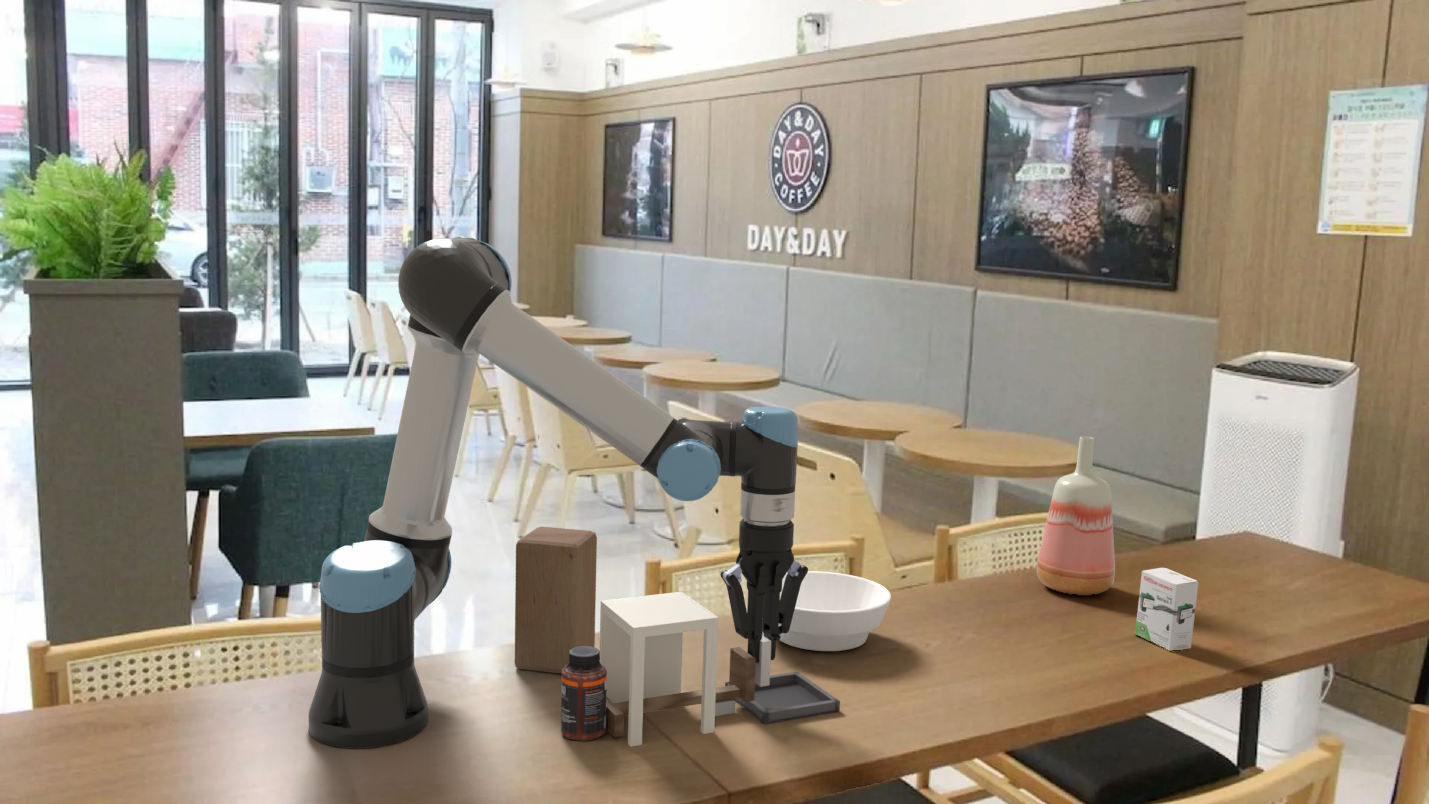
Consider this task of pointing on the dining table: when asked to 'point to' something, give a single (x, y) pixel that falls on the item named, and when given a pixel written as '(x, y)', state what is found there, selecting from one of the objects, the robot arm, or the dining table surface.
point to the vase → (1079, 531)
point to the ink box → (1166, 608)
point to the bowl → (835, 611)
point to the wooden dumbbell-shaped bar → (692, 693)
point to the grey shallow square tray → (789, 699)
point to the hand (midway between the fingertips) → (760, 682)
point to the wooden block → (554, 596)
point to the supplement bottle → (583, 695)
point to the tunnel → (656, 654)
